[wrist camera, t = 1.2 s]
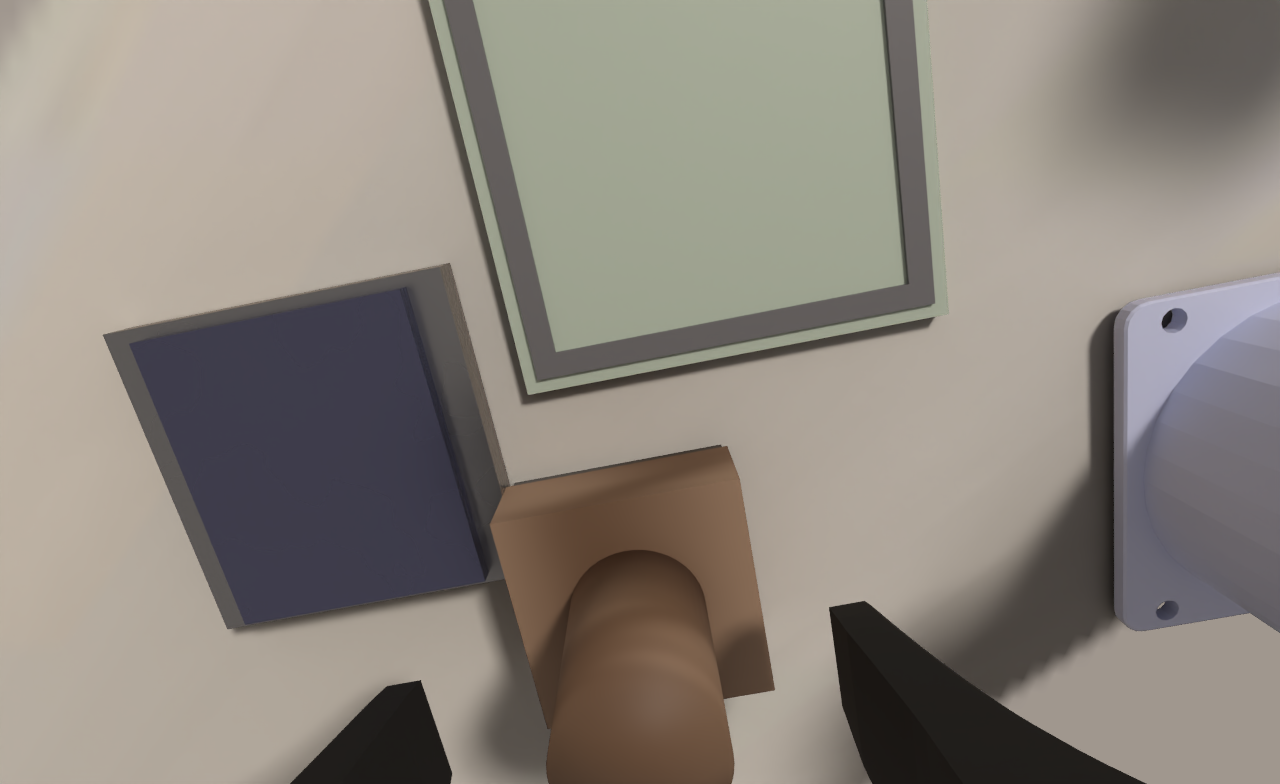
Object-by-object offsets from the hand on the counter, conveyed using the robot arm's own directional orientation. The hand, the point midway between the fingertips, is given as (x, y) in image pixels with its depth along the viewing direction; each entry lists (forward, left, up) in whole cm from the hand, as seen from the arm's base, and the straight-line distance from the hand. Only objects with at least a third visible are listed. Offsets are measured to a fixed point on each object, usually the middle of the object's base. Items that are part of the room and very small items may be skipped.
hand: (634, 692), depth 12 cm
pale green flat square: (-3, -9, -5) cm, 11 cm away
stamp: (0, 0, -5) cm, 5 cm away
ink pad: (+6, -4, -5) cm, 8 cm away
